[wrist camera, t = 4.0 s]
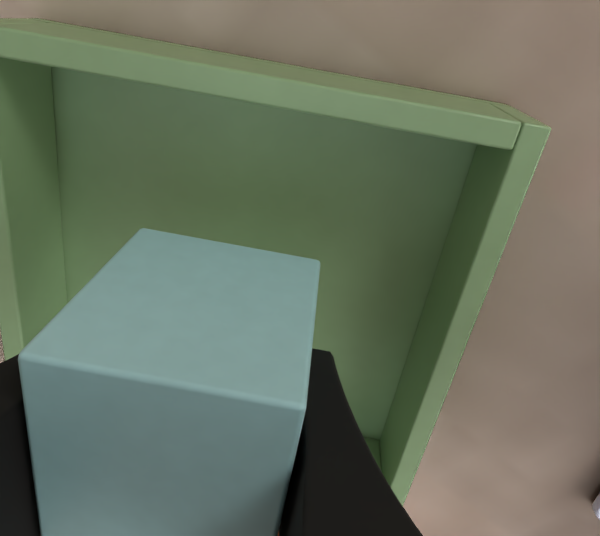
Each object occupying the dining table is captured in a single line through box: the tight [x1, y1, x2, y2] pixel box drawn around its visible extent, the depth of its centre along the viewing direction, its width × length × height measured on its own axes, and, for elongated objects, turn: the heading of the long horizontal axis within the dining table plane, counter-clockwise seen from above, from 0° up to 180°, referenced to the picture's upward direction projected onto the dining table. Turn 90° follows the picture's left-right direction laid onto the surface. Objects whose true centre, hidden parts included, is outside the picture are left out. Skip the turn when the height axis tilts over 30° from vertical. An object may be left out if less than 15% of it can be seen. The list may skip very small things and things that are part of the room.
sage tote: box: [0, 18, 551, 506], centre depth 14 cm, size 12×12×3 cm
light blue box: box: [18, 228, 320, 536], centre depth 10 cm, size 4×5×5 cm
